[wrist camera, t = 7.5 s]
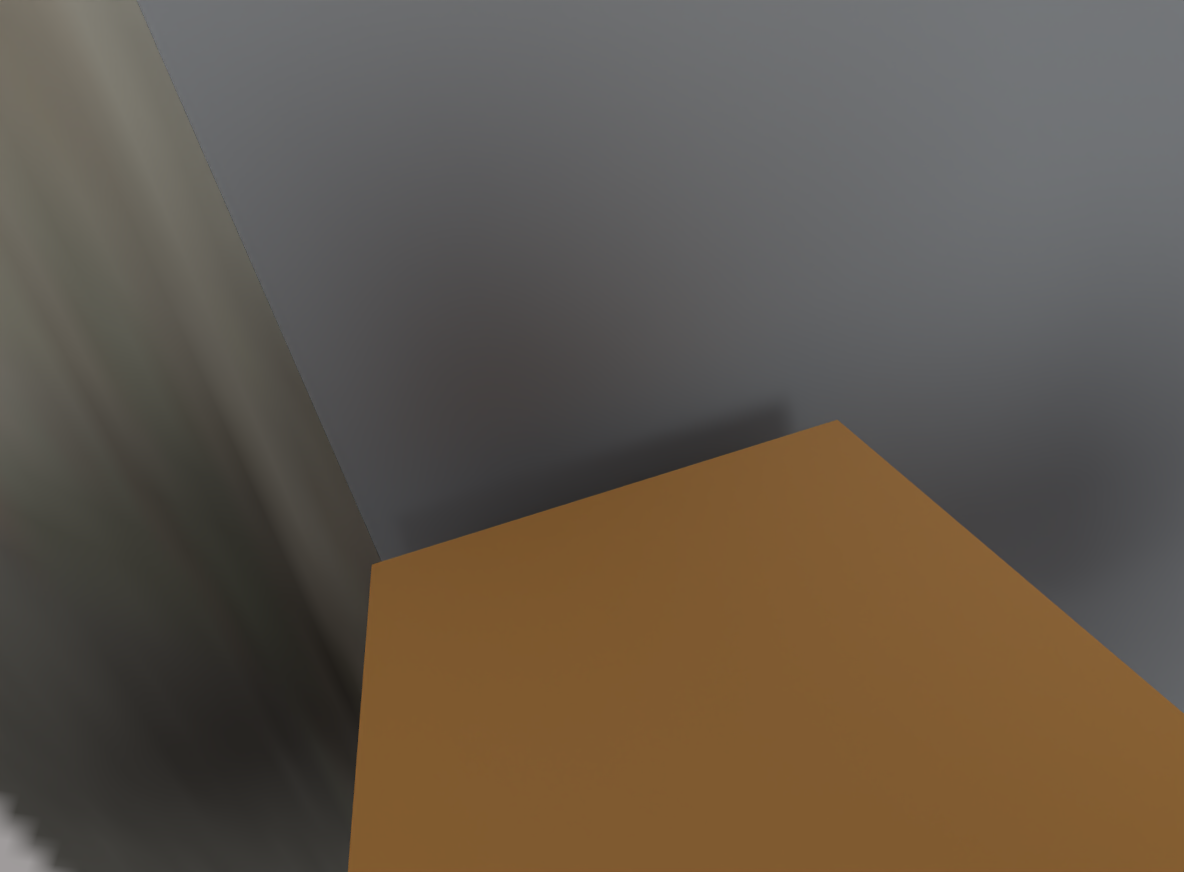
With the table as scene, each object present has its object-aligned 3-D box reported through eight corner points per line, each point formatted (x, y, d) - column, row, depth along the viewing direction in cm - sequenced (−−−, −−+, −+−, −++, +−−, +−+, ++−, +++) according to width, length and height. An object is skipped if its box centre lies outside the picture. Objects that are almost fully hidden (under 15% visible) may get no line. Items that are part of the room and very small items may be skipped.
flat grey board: (1291, 814, 20) (1352, 866, 19) (617, 1064, 19) (633, 1138, 18) (1634, -497, 10) (1833, -588, 8) (116, -140, 8) (57, -179, 7)
